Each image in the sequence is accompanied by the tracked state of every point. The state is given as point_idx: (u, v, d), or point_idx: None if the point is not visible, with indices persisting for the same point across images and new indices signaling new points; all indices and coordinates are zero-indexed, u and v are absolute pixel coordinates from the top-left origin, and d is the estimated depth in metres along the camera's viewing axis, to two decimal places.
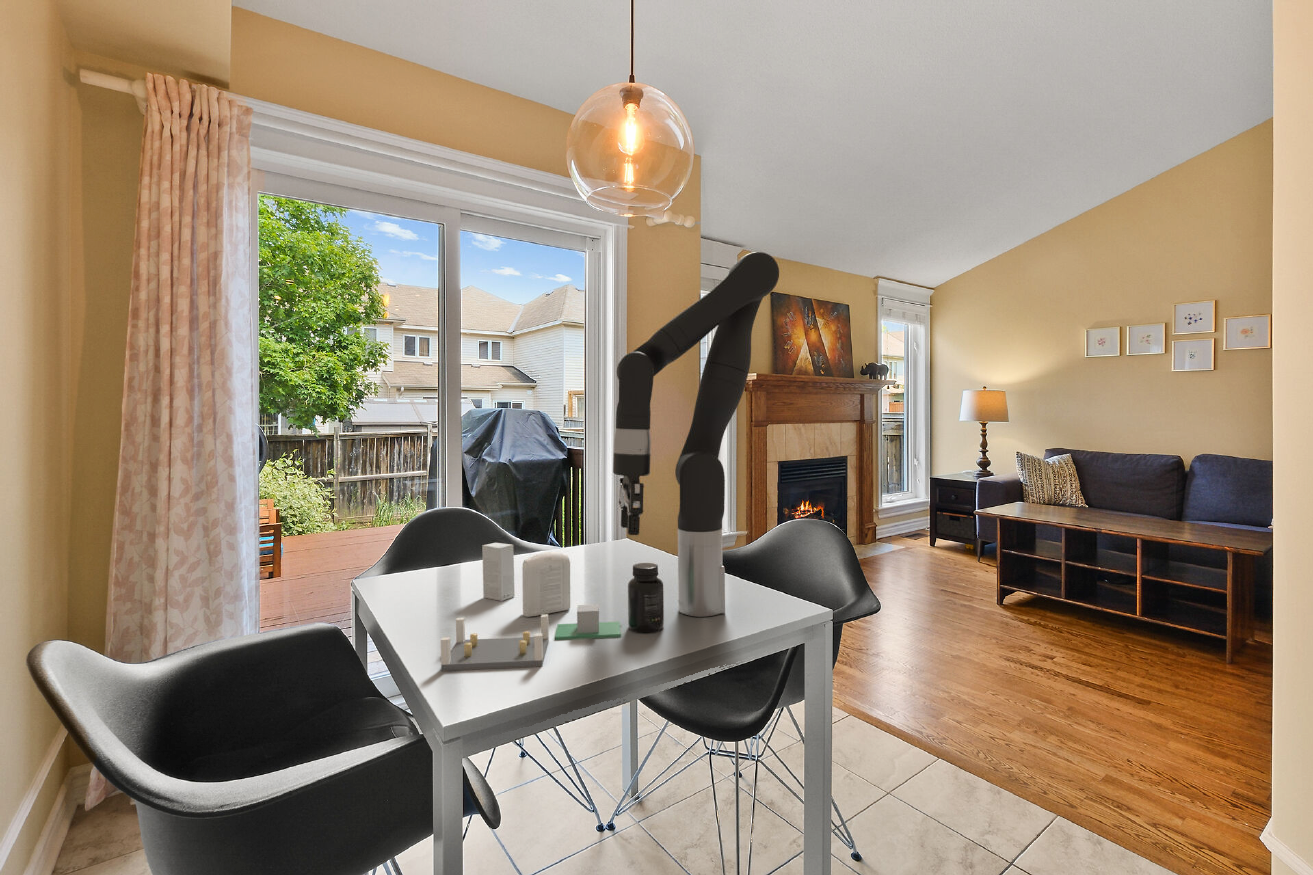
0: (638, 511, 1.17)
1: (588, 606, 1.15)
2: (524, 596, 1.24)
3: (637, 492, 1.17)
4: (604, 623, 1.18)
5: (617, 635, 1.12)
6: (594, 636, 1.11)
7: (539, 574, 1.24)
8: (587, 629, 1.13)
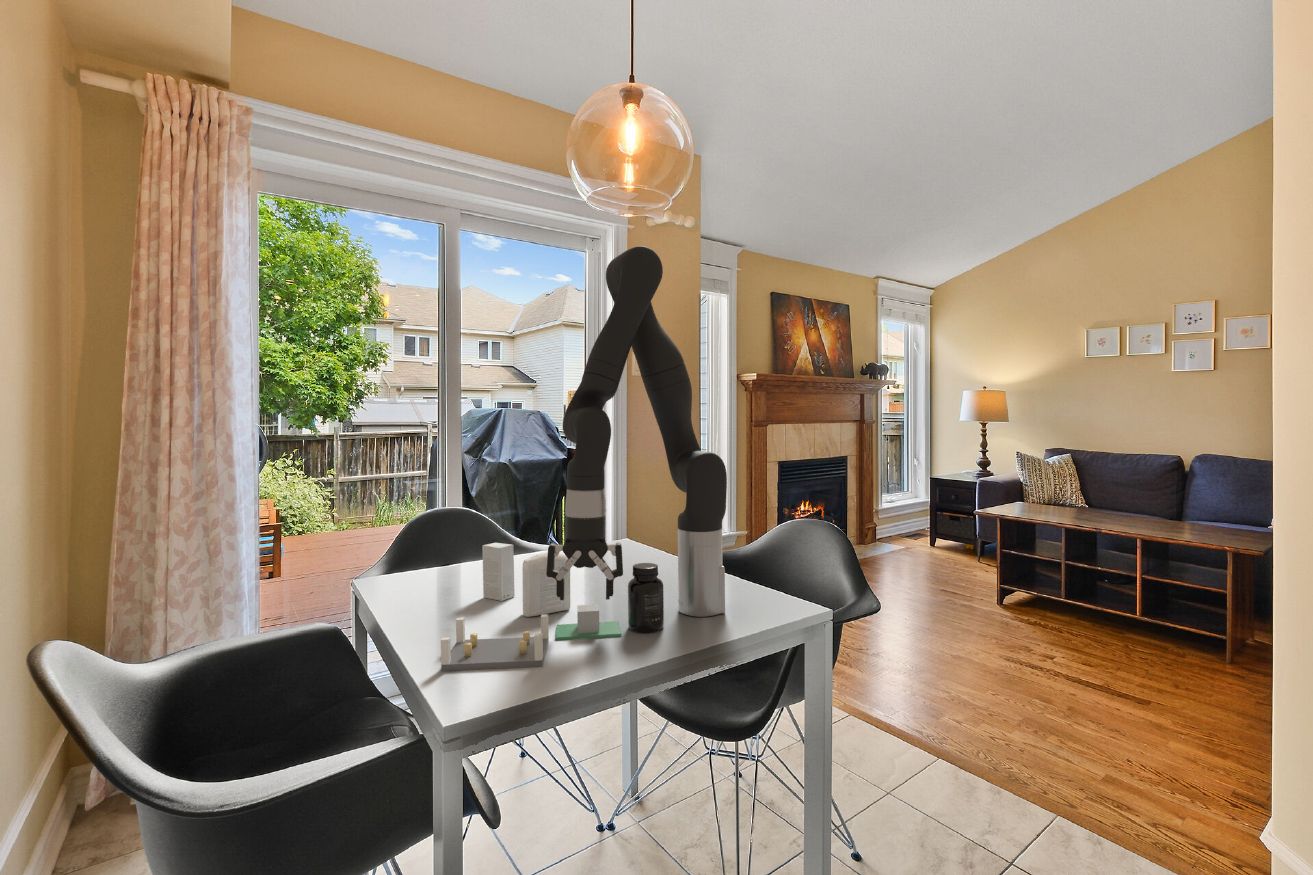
0: None
1: (587, 606, 1.15)
2: (524, 596, 1.24)
3: None
4: (603, 623, 1.18)
5: (618, 635, 1.12)
6: (595, 636, 1.11)
7: (539, 574, 1.24)
8: (587, 629, 1.13)
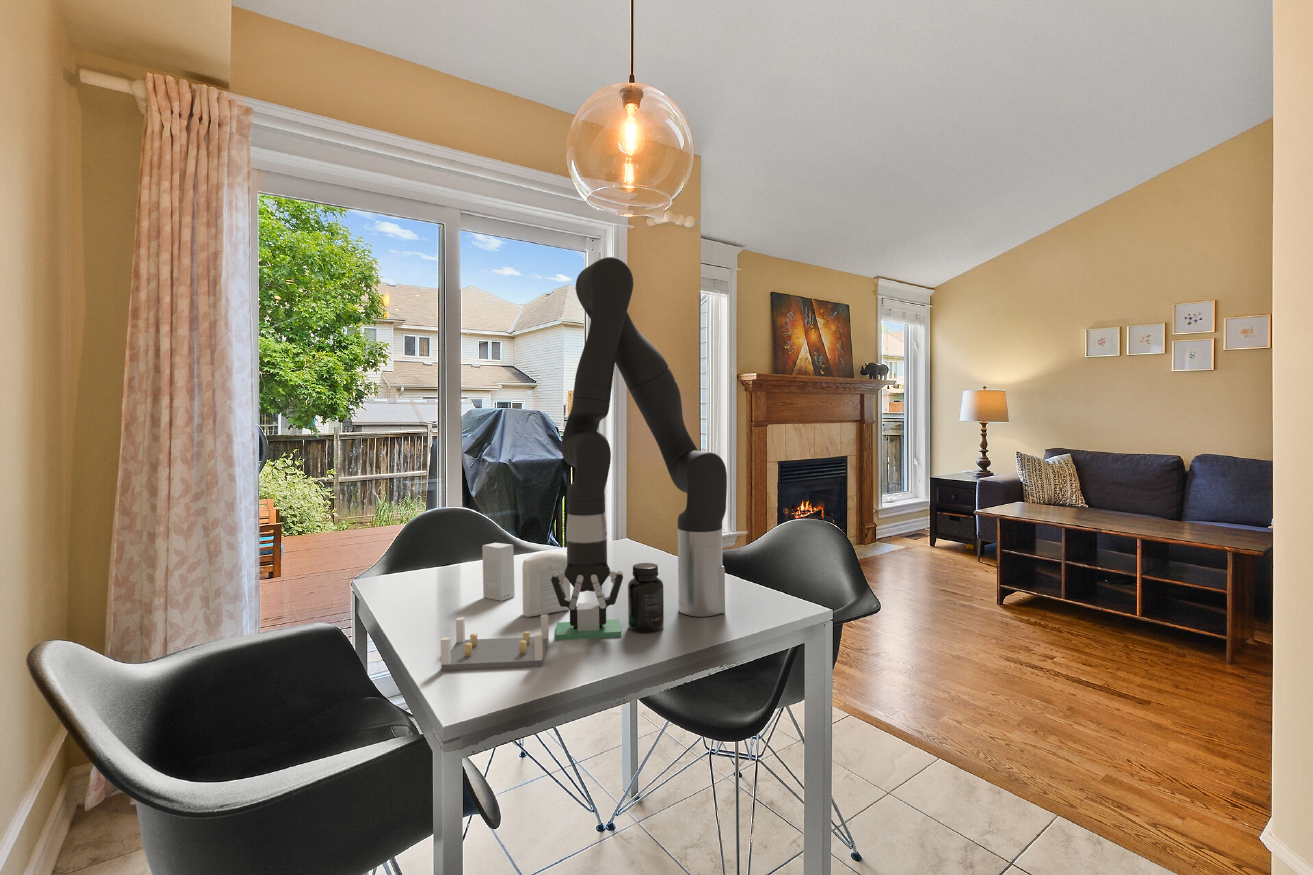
0: None
1: (588, 604, 1.15)
2: (524, 596, 1.24)
3: None
4: None
5: (617, 633, 1.12)
6: (595, 634, 1.11)
7: (539, 574, 1.24)
8: (587, 627, 1.13)
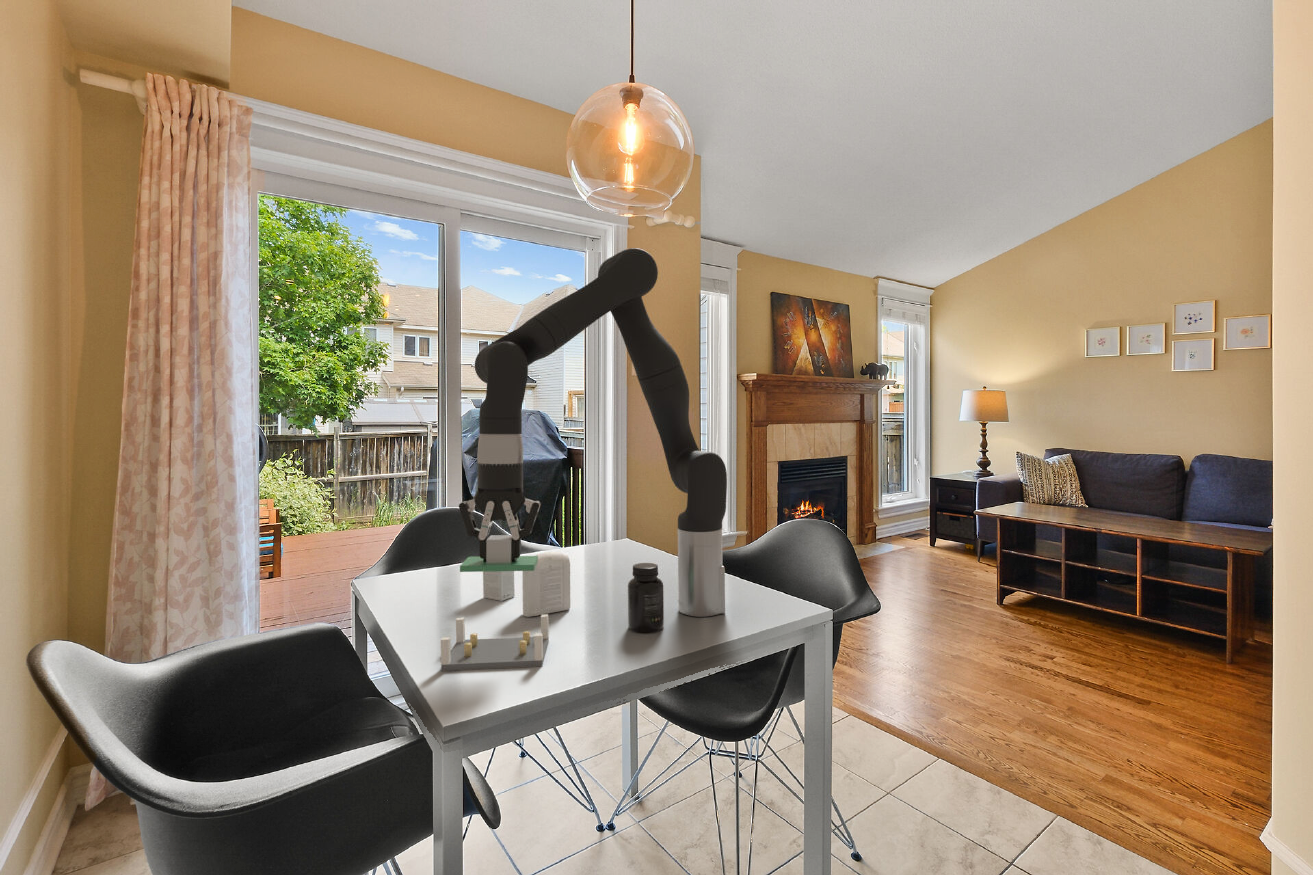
0: (530, 532, 1.04)
1: (501, 536, 1.04)
2: (524, 596, 1.24)
3: (537, 512, 1.04)
4: (520, 557, 1.07)
5: (530, 566, 1.01)
6: (504, 566, 1.00)
7: (539, 574, 1.24)
8: (497, 559, 1.02)
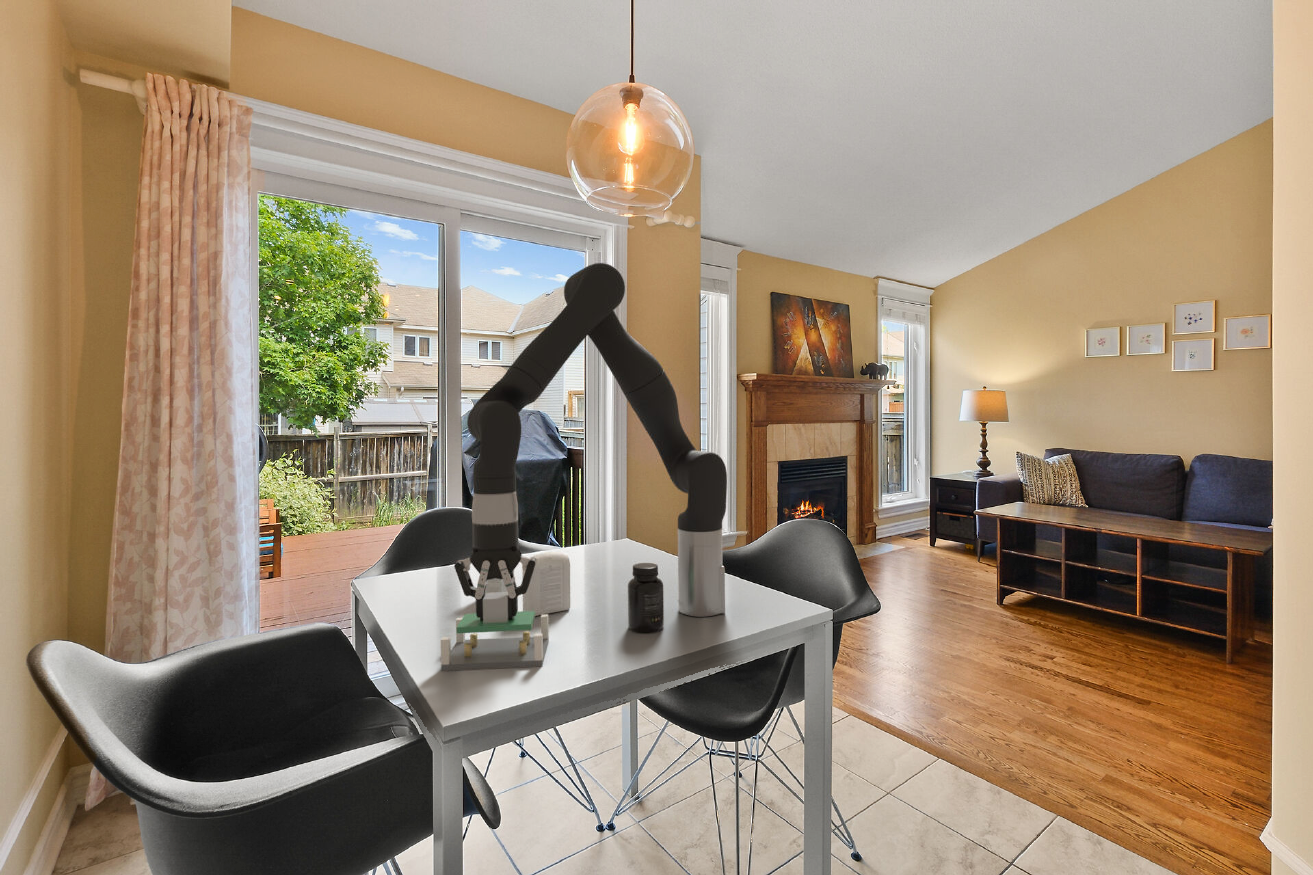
0: None
1: (497, 594, 1.04)
2: (524, 596, 1.24)
3: (533, 569, 1.04)
4: (517, 613, 1.06)
5: (527, 625, 1.00)
6: (501, 626, 1.00)
7: (539, 574, 1.24)
8: (494, 619, 1.01)
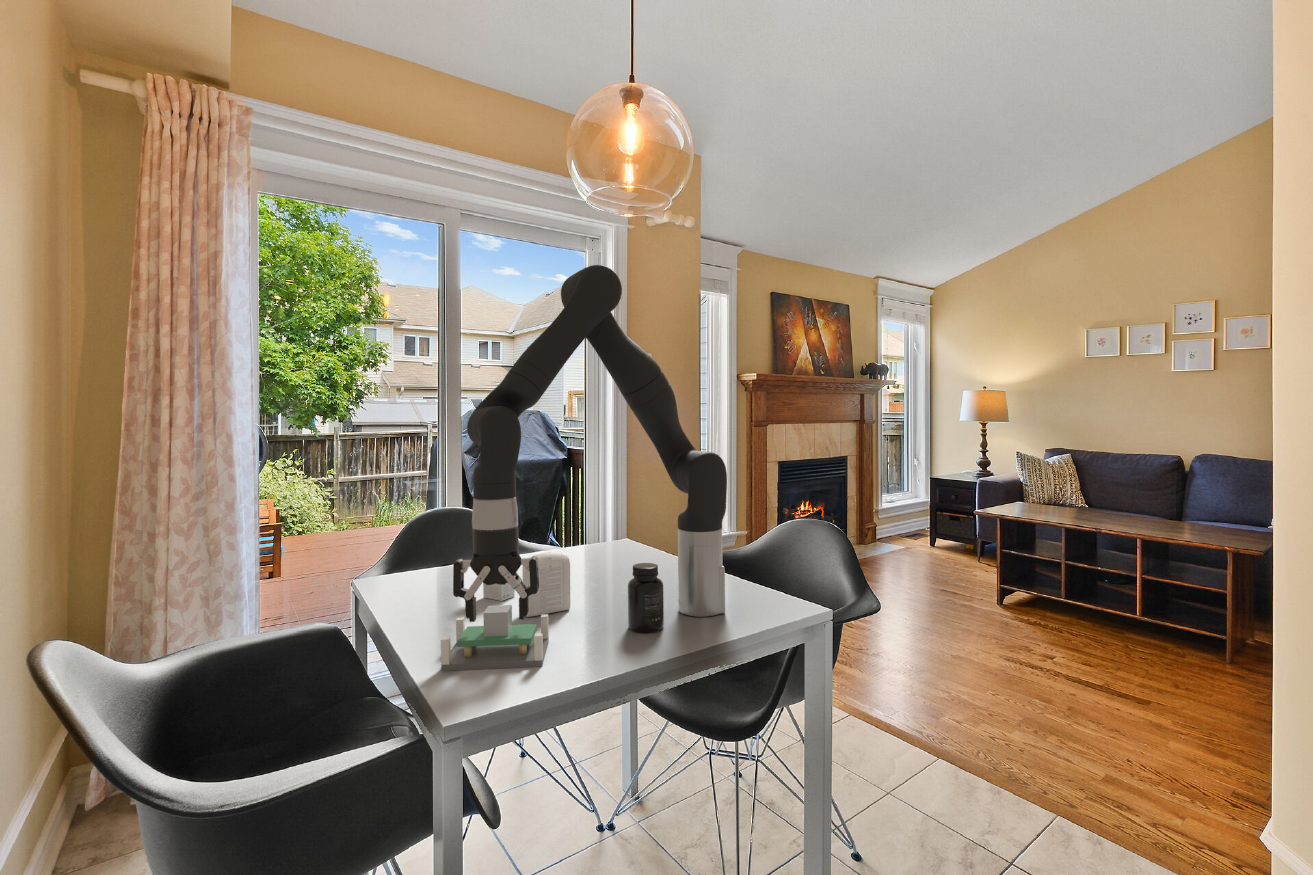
0: (538, 588, 1.04)
1: (498, 607, 1.04)
2: None
3: (537, 567, 1.04)
4: (519, 626, 1.06)
5: (527, 639, 1.00)
6: (501, 640, 1.00)
7: (539, 574, 1.24)
8: (495, 632, 1.01)
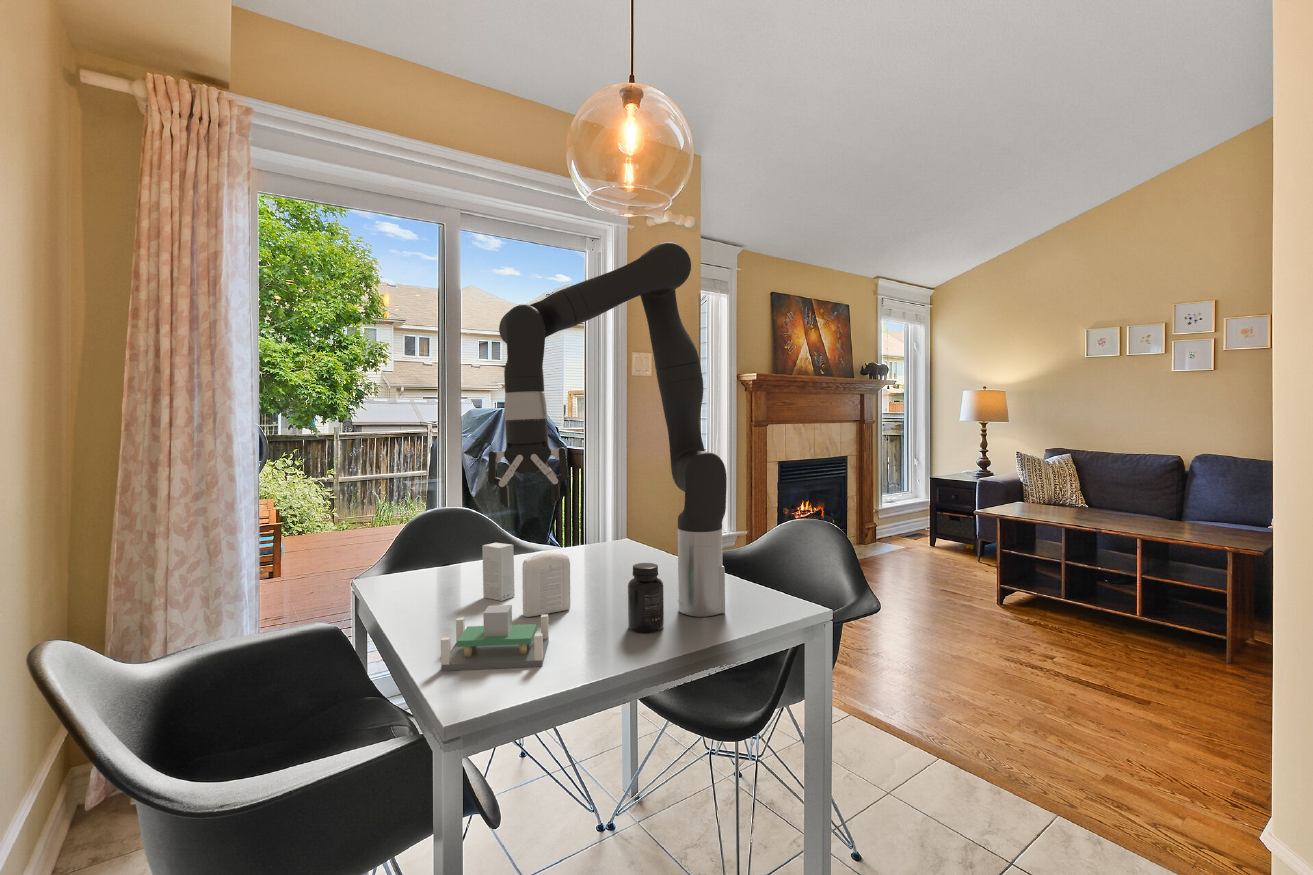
0: None
1: (498, 607, 1.04)
2: (524, 596, 1.24)
3: None
4: (519, 626, 1.06)
5: (527, 639, 1.00)
6: (501, 640, 1.00)
7: (539, 574, 1.24)
8: (495, 632, 1.01)
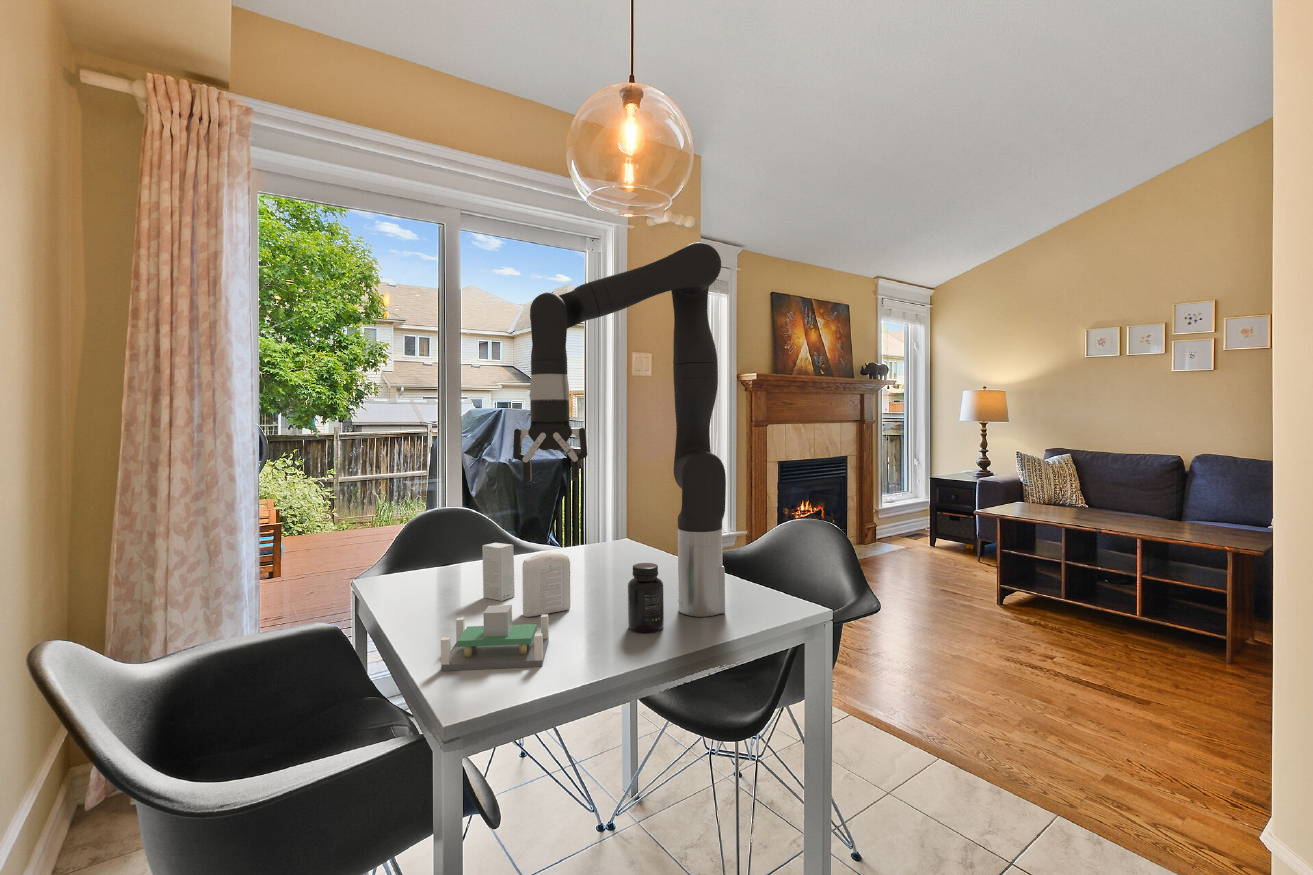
0: None
1: (498, 607, 1.04)
2: (524, 596, 1.24)
3: None
4: (519, 626, 1.06)
5: (527, 639, 1.00)
6: (501, 640, 1.00)
7: (539, 574, 1.24)
8: (495, 632, 1.01)
